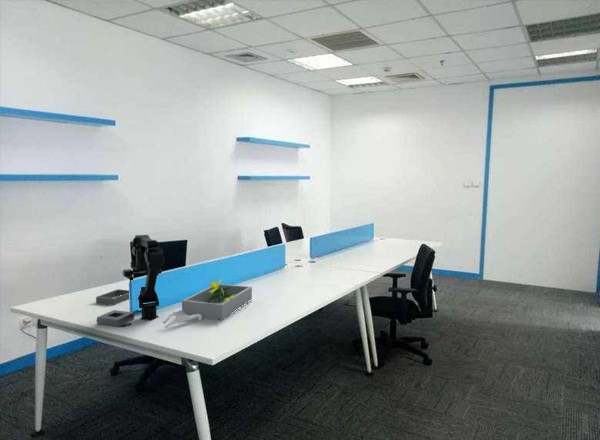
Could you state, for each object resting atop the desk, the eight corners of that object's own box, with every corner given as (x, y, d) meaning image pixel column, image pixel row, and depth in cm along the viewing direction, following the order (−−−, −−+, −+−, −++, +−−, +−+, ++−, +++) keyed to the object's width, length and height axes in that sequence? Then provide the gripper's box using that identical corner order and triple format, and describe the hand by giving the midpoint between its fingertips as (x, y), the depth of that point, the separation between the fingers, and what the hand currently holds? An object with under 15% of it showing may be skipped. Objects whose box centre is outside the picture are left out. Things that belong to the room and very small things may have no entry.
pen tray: (134, 296, 255) (134, 291, 255) (114, 305, 238) (113, 298, 237) (117, 294, 258) (117, 289, 258) (96, 303, 241) (96, 296, 241)
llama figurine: (171, 339, 205) (203, 319, 214) (162, 320, 201) (195, 300, 211) (170, 338, 206) (202, 318, 216) (160, 319, 203) (193, 299, 212)
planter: (251, 300, 252) (251, 286, 252) (222, 320, 215) (222, 305, 214) (216, 296, 258) (216, 283, 258) (181, 315, 221) (181, 300, 220)
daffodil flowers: (235, 300, 254) (242, 301, 220) (213, 312, 250) (216, 315, 216) (223, 275, 255) (227, 272, 221) (200, 286, 250) (201, 285, 217)
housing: (134, 319, 214) (134, 312, 214) (118, 327, 203) (117, 319, 203) (114, 316, 218) (114, 310, 217) (97, 324, 206) (96, 317, 206)
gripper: (155, 254, 236) (156, 282, 238) (120, 257, 226) (120, 286, 227) (161, 258, 227) (162, 286, 228) (124, 261, 216) (125, 291, 218)
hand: (142, 287), depth 226 cm, fingers open, 9 cm apart
